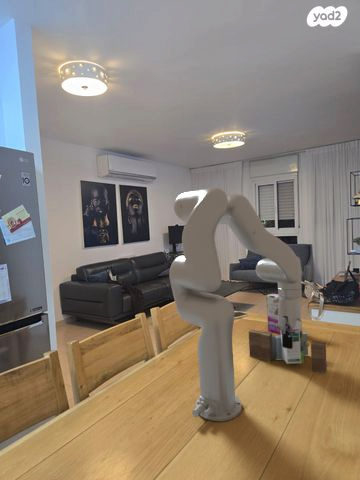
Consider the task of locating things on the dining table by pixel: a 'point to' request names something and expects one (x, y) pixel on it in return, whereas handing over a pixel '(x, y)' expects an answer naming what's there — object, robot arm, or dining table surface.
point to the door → (278, 349)
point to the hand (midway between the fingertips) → (291, 343)
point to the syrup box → (294, 345)
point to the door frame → (264, 350)
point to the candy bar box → (273, 313)
